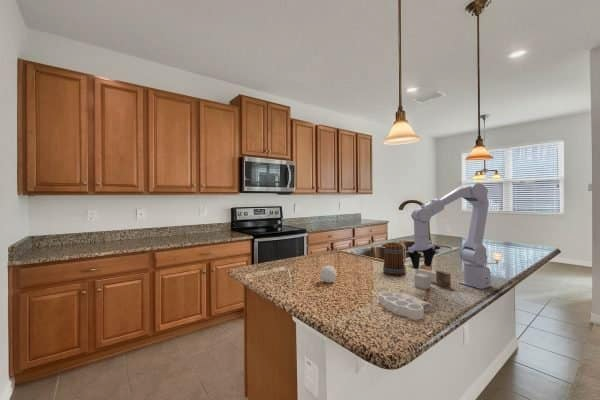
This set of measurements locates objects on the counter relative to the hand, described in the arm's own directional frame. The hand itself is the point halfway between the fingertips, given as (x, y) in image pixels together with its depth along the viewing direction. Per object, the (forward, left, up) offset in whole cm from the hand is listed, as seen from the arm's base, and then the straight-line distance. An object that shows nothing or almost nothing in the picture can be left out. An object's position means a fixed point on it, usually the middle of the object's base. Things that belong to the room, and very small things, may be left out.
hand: (422, 267), depth 117 cm
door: (+4, -10, -8) cm, 13 cm away
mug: (+22, -8, -9) cm, 25 cm away
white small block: (0, 0, -8) cm, 8 cm away
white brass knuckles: (-11, +25, -9) cm, 29 cm away
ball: (+27, +31, -9) cm, 42 cm away
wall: (-4, -8, -8) cm, 12 cm away
